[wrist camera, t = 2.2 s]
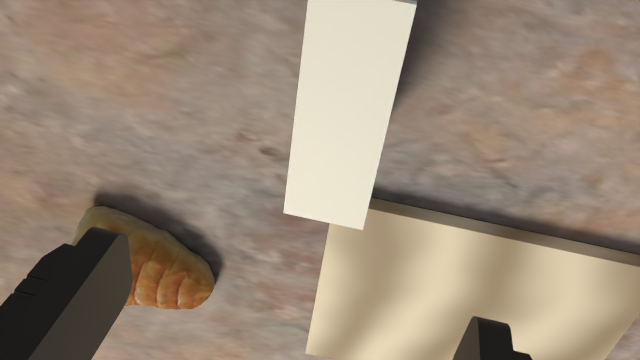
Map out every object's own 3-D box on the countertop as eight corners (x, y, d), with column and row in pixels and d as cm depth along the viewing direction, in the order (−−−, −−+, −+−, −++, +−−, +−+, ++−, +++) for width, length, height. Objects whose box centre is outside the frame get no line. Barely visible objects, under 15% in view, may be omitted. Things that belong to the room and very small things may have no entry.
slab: (319, 114, 28) (283, 213, 21) (346, -73, 22) (309, -16, 16) (380, 127, 28) (362, 230, 21) (423, -59, 22) (416, 4, 16)
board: (308, 341, 39) (305, 353, 38) (336, 190, 30) (333, 201, 30) (560, 400, 38) (563, 413, 37) (663, 260, 29) (669, 273, 28)
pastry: (229, 245, 35) (209, 289, 32) (209, 305, 39) (189, 350, 36) (90, 192, 34) (56, 232, 31) (84, 259, 38) (54, 301, 35)
